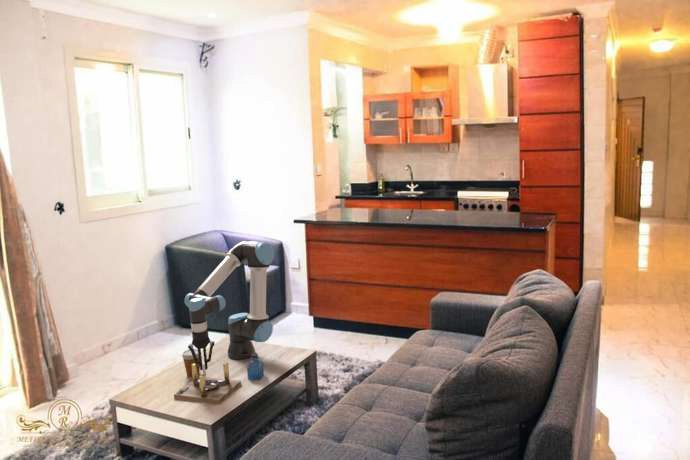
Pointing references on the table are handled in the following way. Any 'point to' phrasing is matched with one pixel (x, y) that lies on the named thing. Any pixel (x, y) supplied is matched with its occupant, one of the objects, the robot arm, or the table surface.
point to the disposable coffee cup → (190, 362)
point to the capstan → (209, 380)
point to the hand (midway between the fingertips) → (204, 375)
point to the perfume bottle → (255, 368)
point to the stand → (212, 396)
